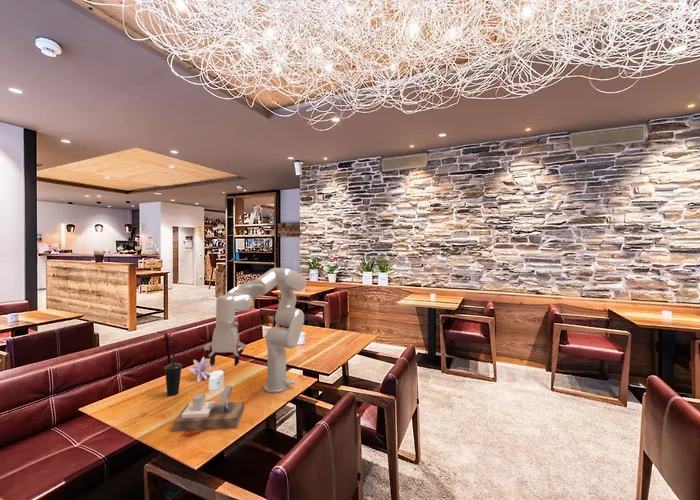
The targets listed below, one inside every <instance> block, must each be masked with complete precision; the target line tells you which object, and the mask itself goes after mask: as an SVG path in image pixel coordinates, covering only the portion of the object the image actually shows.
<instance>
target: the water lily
mask: <svg viewBox="0 0 700 500" xmlns="http://www.w3.org/2000/svg"><path fill="white" fill-rule="evenodd" d="M193 363H194V365H195V366H190V367H188V370H189V371H191V372H193V374H197V376H196V381H197V382H198V383H200V382H201V381H202V379H203V378H204V379H205V380H207V379H208V376H209V374H210V373H211V372H212V371H210V369H212V368H213V367H214V366H215V364H216V363H215V364H214V365H213V366H211V364H210V363H209V364H208V358H205V356H203V357H202V358H201V359H200V362H199V361H198V360H197V359H193ZM207 364H208V365H207Z"/></svg>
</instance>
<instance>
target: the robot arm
mask: <svg viewBox="0 0 700 500" xmlns="http://www.w3.org/2000/svg"><path fill="white" fill-rule="evenodd" d="M307 282H308V281H307V279H306V276H304V275H303V274H301V273H299V272H297V271H295V270H293V269H291V268H286V267H284V268H283V267H273V268H270V269H269V270H268V271H266V272H265V273H263V274H262V275H260V276H259V277H257V278H255V279H253V280H250V281H248V282H244V283H241V284H239V285H237V286H235V287H233V288H232V289H230V290H229V291H227V292H226V293H225V294H224V295H219V296H218V297H217V298H216V304H215V305H216V306H215V307H216V308H215V327H214V329H213V333H212V339H211V342H208V343H206V344H205V345H203V349H204V351H205V353H206V354H207V355H208V357H209V364H211V366H213V365H214V364H216V355H215V353H233V354H234V366H235V367H237V366H238V364H239V363H240V355H241V354H242V353H243V352H244V351H245V350H246V349H245V348H247V344H245V343H243V342H241V341H239V332H238V327H237V326H239V321H236V312H246V311H248V310H250V309H251V308H252V307H253V305H254V298H253V297H259V296H263V295H266V294H267V293H268V292H270V291H271V290H273V288H276V287H277V286H278V289H279V291H280V301H279V305H278V307H277V309H276V312H275V316H274V320H275V323H276V324H278V325H281V326H286V327H281V326H271V327H270V328H268V329H267V331H266V334H265V342H266V346H267V347H266V348H267V368H266V369H267V371H266V375H267V377H266V378H267V379H266V382H267V383H265V384H264V385H263V390H264V391H265V392H266V393H271V394H274V393H275V394H276V393H283V392H285V391H287V390H288V389H289V388H290V385H293V386H294V385H295V380H293V378H292V379H291V378H290V379H288V377H287V351H286V349H294V348H295V347H296V346H297V344H298V343H299V340H300V337H301V333H302V330H303V326H304V323H305V314H304V312H303V310H301V309H300V308H296V304H297V295H296V294H295V291H296V292H297V291H298V292H300V291H303V290H305V288H306V287H307ZM287 327H288V328H287ZM210 347H211V349H210ZM239 347H241V348H240V350H239V349H238V348H239ZM214 366H215V365H214ZM214 366H213V367H214Z"/></svg>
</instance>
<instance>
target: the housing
mask: <svg viewBox="0 0 700 500" xmlns="http://www.w3.org/2000/svg"><path fill="white" fill-rule="evenodd" d="M221 403H223V402H221ZM189 404H190V403H187V404H186V406H185V407H184V408H182V409H183V410H182V411H181V412H180V413H179V414H178V416H177V417H176V418H175V419H174V421H173V432H175V433H176V432H187V431H188V432H190V431H193V432H194V431H208V430H225V429H226V430H227V429H238V426H239V424H240V423H241V422H240V421H241V420H242V417H243V414H244V412H245V401H229V408H228V409H227V410H224V407H215V408H213V409H212V411H211V412H210V414H209V416H208V417H200V418H181V415H182V413H183V412H184V411H185V409H186V408H187V407H188V406H189Z"/></svg>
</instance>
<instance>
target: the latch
mask: <svg viewBox="0 0 700 500" xmlns="http://www.w3.org/2000/svg"><path fill="white" fill-rule="evenodd" d="M232 387H233V386H232V385H226V386H224V389H223V390H222V392H220V402H215V403H209V405H208V408H215V407H224V410H227V409H228V408H229V402H230V401H229V400H230V396H231V395H232V392H233V388H232ZM222 402H223V403H222Z"/></svg>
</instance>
